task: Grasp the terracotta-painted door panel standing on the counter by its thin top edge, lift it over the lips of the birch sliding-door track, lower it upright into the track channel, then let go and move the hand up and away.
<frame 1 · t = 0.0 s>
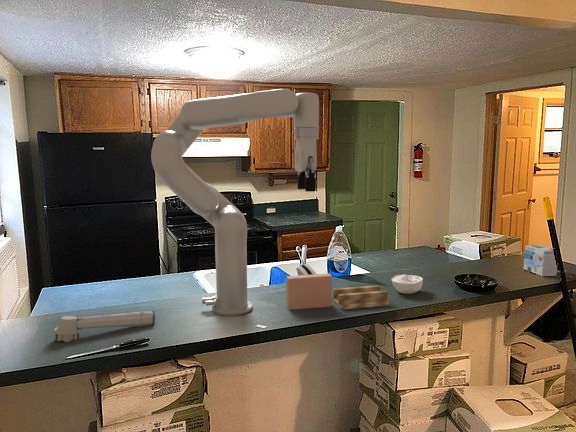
hand: (306, 190, 135), 37 cm above the countertop, tool pointing down, fingers open, 9 cm apart
beige mallet: (107, 333, 119), on the countertop
white bowl: (407, 293, 151), on the countertop
guide track: (359, 302, 141), on the countertop
light bulb box: (539, 274, 174), on the countertop
door panel: (309, 306, 138), on the countertop
grey rounded piece: (310, 290, 155), on the countertop
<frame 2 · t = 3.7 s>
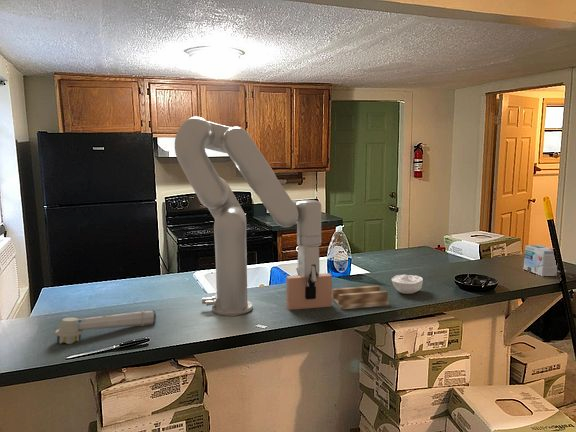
hand: (309, 296, 137), 3 cm above the countertop, tool pointing down, fingers closed on door panel, 3 cm apart
door panel: (309, 306, 138), on the countertop, touching gripper
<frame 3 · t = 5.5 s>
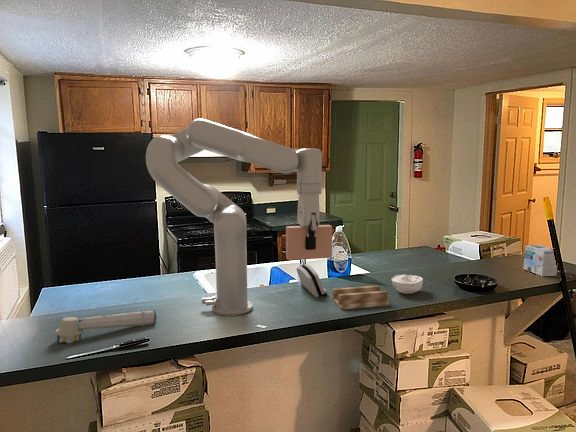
hand: (308, 247, 135), 19 cm above the countertop, tool pointing down, fingers closed on door panel, 3 cm apart
door panel: (309, 257, 135), point 16 cm above the countertop, touching gripper
everything else where it was.
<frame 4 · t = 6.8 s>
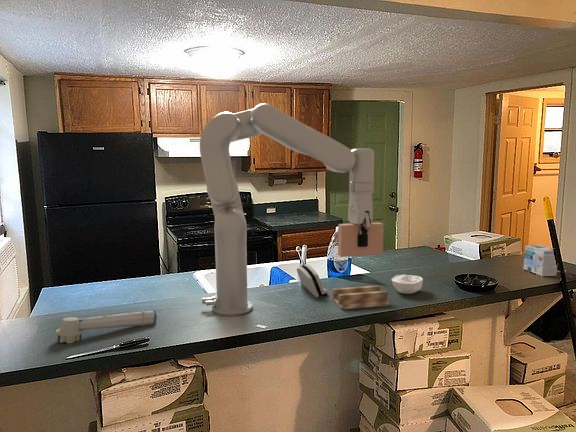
hand: (360, 244, 138), 19 cm above the countertop, tool pointing down, fingers closed on door panel, 3 cm apart
door panel: (360, 254, 139), point 16 cm above the countertop, touching gripper
everything else where it was.
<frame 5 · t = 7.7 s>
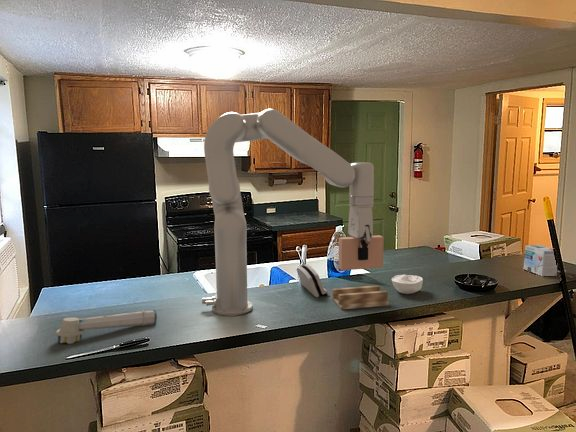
hand: (360, 258, 139), 15 cm above the countertop, tool pointing down, fingers closed on door panel, 3 cm apart
door panel: (360, 267, 140), point 12 cm above the countertop, touching gripper
everything else where it was.
when the fingers open (6 cm above the countertop, at t = 9.9 s): door panel drops 1 cm, resting on guide track.
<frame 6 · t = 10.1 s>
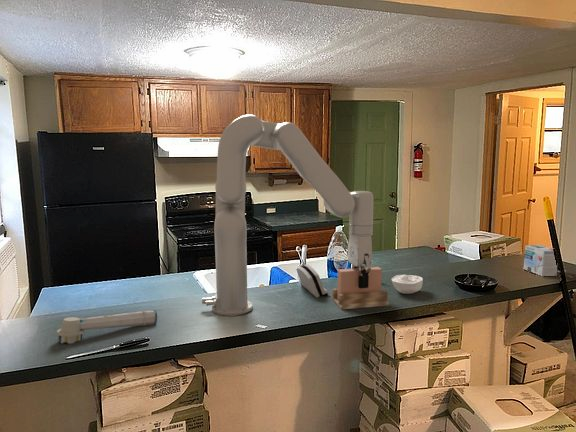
hand: (359, 284, 140), 6 cm above the countertop, tool pointing down, fingers open, 5 cm apart
door panel: (359, 299, 141), point 1 cm above the countertop, touching guide track
everything else where it was.
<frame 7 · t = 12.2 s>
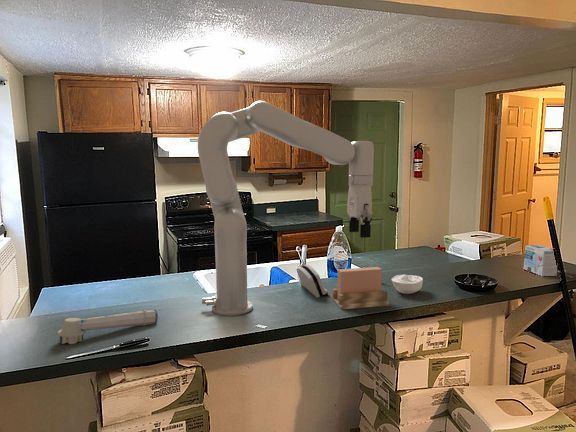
hand: (359, 234, 138), 22 cm above the countertop, tool pointing down, fingers open, 9 cm apart
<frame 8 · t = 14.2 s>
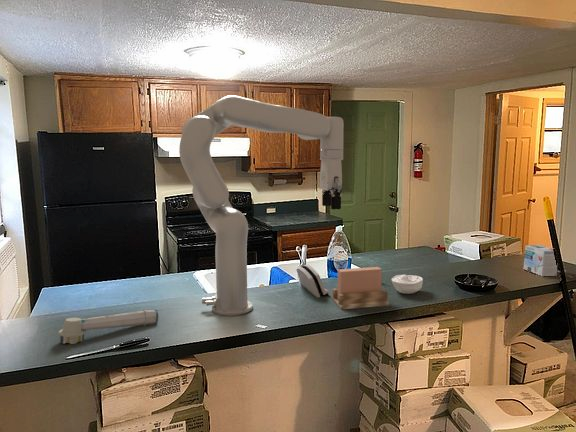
hand: (331, 207, 144), 30 cm above the countertop, tool pointing down, fingers open, 9 cm apart
at the end: door panel inside the target area on the guide track (0.1 cm from its centre), point 1.0 cm above the guide track's base; door panel tilted 0°; the gripper is holding nothing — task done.
